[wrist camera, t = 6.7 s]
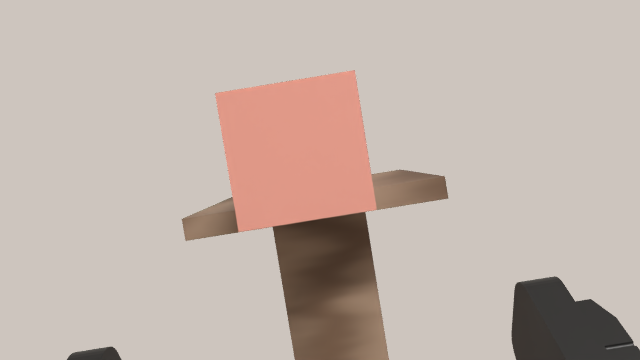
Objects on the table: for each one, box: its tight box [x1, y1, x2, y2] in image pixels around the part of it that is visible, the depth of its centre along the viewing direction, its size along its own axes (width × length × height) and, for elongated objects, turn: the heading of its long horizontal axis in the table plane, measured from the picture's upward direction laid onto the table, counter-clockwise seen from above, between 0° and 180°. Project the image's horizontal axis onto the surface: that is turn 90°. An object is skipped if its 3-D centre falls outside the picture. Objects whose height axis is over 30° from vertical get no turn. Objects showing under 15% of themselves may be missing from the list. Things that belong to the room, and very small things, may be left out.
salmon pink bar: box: [215, 70, 377, 232], centre depth 26 cm, size 4×22×4 cm, turn 0°
